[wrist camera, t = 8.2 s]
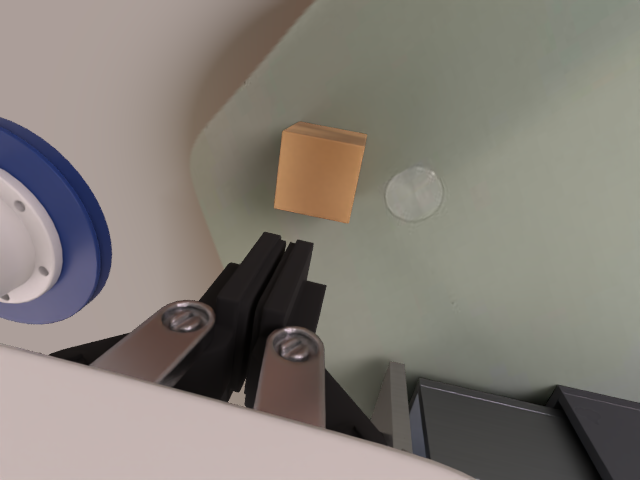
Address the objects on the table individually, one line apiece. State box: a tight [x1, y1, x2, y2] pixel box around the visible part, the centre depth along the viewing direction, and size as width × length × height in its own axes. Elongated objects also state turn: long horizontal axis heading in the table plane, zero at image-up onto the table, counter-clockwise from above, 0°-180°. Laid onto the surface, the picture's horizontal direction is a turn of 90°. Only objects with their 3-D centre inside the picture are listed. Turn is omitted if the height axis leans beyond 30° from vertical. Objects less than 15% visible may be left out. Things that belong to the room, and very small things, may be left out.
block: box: [274, 122, 367, 223], centre depth 22 cm, size 4×4×4 cm
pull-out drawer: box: [371, 361, 603, 480], centre depth 27 cm, size 20×11×8 cm, turn 81°
